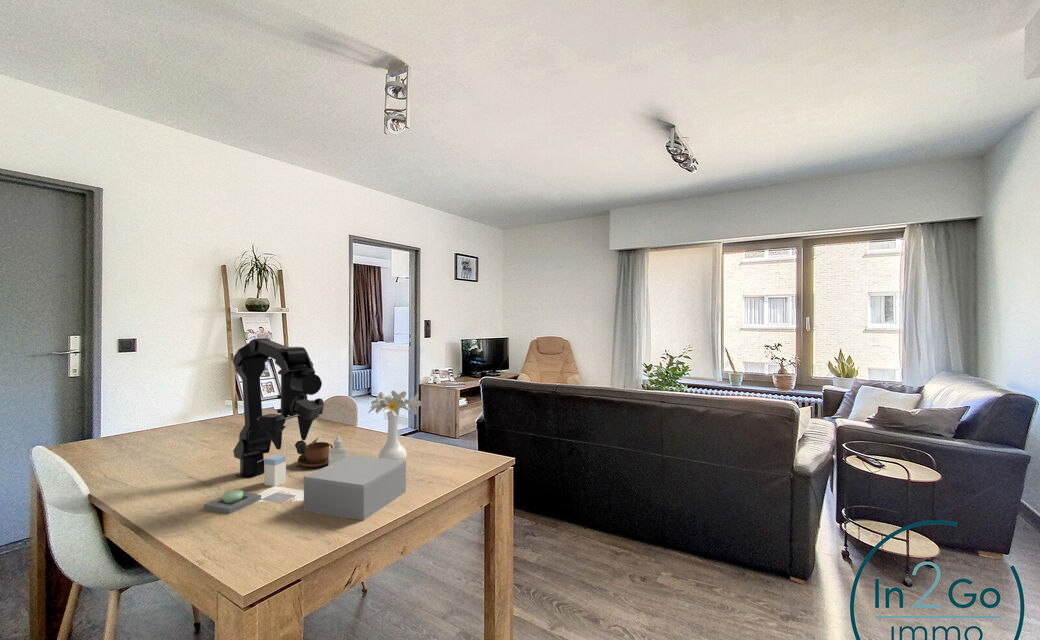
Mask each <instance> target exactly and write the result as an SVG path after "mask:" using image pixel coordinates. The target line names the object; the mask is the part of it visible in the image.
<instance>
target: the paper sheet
mask: <svg viewBox="0 0 1040 640" xmlns="http://www.w3.org/2000/svg"><path fill="white" fill-rule="evenodd" d="M282 489H283V490H282ZM279 491H281V492H282V491H284V492H286V493H285V494H284V492H283V493H281V492H280V493H278V492H279ZM288 492H289V494H287V493H288ZM290 493H291V495H290ZM257 494H258V495H261V500H259V501H257V502H256V503H259V502H260V503H261V502H262V503H263V502H271V503H277V502H278V503H279V504H282V503H284V502H287V501H286V500H288V499H290V498H291V499H293V498H292V497H295V500H292V501H291V502H297V501H298V502H300V501H301V502H304V489H303V490H302V489H298V488H297V489H296V488H289V487H283V486H279V485H277V486H271V487H270V488H267V489H266V490H263V491H261V492H259V493H257ZM278 496H279V497H278ZM281 497H282V498H281ZM296 500H297V501H296ZM279 501H280V502H279ZM278 503H277V504H278Z"/></svg>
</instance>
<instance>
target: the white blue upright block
mask: <svg viewBox="0 0 1040 640" xmlns="http://www.w3.org/2000/svg"><path fill="white" fill-rule="evenodd" d="M263 475H264V478H263V479H264V481H263V482H264V484H263V485H264V486H271V487H274V486H279V485H281V484H284V483H286V482H287V456H286V455H279V454H274V455H272V456H268V457H264V473H263Z"/></svg>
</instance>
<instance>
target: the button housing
mask: <svg viewBox="0 0 1040 640" xmlns="http://www.w3.org/2000/svg"><path fill="white" fill-rule="evenodd" d="M259 500H261V495H258V493H252V492H245V491H243V499H242V500H240V501H237V502H233V503H231V504H230V503H224V502H223V496H220V497H218V498H216V499H214V500H211V501H208V502H206V503H204V504H203V510H207V511H211V512H212V511H213V512H217V513H223V514H229V515H231V514H232V513H235V512H237V511H240V510H242V509H243V508H246V507H248V506H250V505H252V504H254V503H258V502H257V501H259Z"/></svg>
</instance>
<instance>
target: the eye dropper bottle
mask: <svg viewBox="0 0 1040 640" xmlns="http://www.w3.org/2000/svg"><path fill="white" fill-rule="evenodd" d="M333 444H334V445H333V448H332V449H331V448H329V464H328V465H331V464H333V463H335V462H337V461H340V460H342V459H344V458H346V457H348V456H349V455H348V454H349V453H348V452H349V451H348V450H349V449H348V448H346V447H345V446H344V447H343V440H342V439H341V438H340V435H337V436H336V439H335V440H333Z"/></svg>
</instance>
